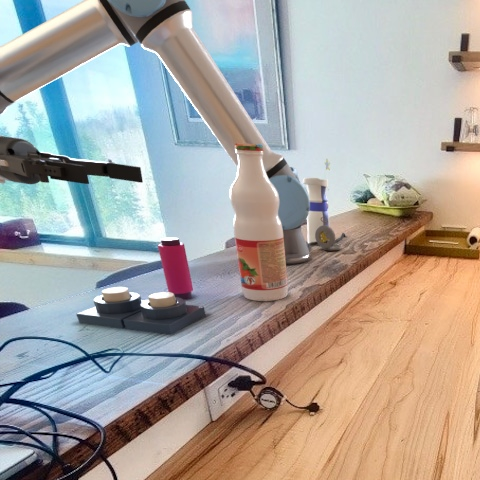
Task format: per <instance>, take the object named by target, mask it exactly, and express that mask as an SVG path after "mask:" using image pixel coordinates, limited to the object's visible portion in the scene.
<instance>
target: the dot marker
mask: <svg viewBox="0 0 480 480" xmlns="http://www.w3.org/2000/svg"><path fill="white" fill-rule="evenodd" d="M185 247H186V246H185V243H184V242H180V238H178V237H163V238H160V242H159V243H158V244H157V248H158V249H157V250H158V253H159V257H160V261H161V266H162V269H163V270H162V271H163V273H164V274H163V275H164V278H165V284H166V287H167V290H168V291H167V292H170V293H173V294H174V296H175V297H178V298H182V299H184V300H185V301H186V300H190V299H193V295H192V292H193V291H194V286H193V281H192V276H191V271H190V267H189V261H188V257H187V252H186V251H187V250H186V248H185Z"/></svg>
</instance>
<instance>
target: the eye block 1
mask: <svg viewBox="0 0 480 480" xmlns="http://www.w3.org/2000/svg"><path fill="white" fill-rule="evenodd" d="M129 294H130V299H127V300H123V301H114V302H108V301H104V298H103V295H102V294H100V295H97V296H95V297H94V299H93V300H92V301H93V304H94V306H93V307H90V308H88V309H85V310H82V311H79V312H77V313H76V317H77V320H78V323H79V324H84V325H92V326H101V327H109V328H115V329H116V328H117V329H126V327H125V324H124V321H123V319H126V318H128V317H130V316H132V315H135V314H137V313H139V312H141V308H140V305H141V303H142V302H144V301H146V300H147V299H142V297H141V295H140V294H139V293H137V292H133V291H129Z"/></svg>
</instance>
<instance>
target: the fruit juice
mask: <svg viewBox="0 0 480 480" xmlns="http://www.w3.org/2000/svg"><path fill="white" fill-rule="evenodd" d="M235 150H236V154H237V155H238V168H237V172H236V177H235V180H234V181H233V183H232V184H231V186H230V188H229V201H230V204H231V206H232V209H233V212H234V218H233V222H232V224H233V225H232V226H233V237H234V243H235V250H236V257H237V264H238V271H239V278H240V286H241V291H242V295H243V296H244V298H246V299H247V300H250V301H255V302H273V301H278V300H282V299H284V298H286V297H287V296H288V294H289V286H288V285H289V284H288V275H287V273H288V272H287V264H286V261H285V250H284V237H283V228H282V223H281V220H280V218H279V216H278V209H279V194H278V191H277V189H276V188H275V186H274V185H273V184H272V183H271V181H270V180H269V178H268V176H267V174H266V171H265V168H264V165H263V160H262V155H263V146H262V145H259V144H242V143H235Z"/></svg>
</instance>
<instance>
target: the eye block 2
mask: <svg viewBox="0 0 480 480" xmlns="http://www.w3.org/2000/svg"><path fill="white" fill-rule="evenodd" d="M145 300H146V301H144V302H142V303H141V305H140V308H141V312H139V313H137V314H135V315H132V316H130V317H128V318H126V319H123V321H124V324H125V330H131V331H138V332H139V331H141V332H148V333H155V334H165V335H173V334H175V333H177V332H178V331H180V330H182V329H184V328H185V327H187V326H189V325H191V324H193V323H194V322H197V321H198V320H200V319H202V318H204V317H206V310H205V306H200V305H193V304H192V305H191V304H187V301H186V300H184V299H182V298H178V297H175V300H176V304H174V305H171V306H167V307H151V306H150V302H149V299H145Z"/></svg>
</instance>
